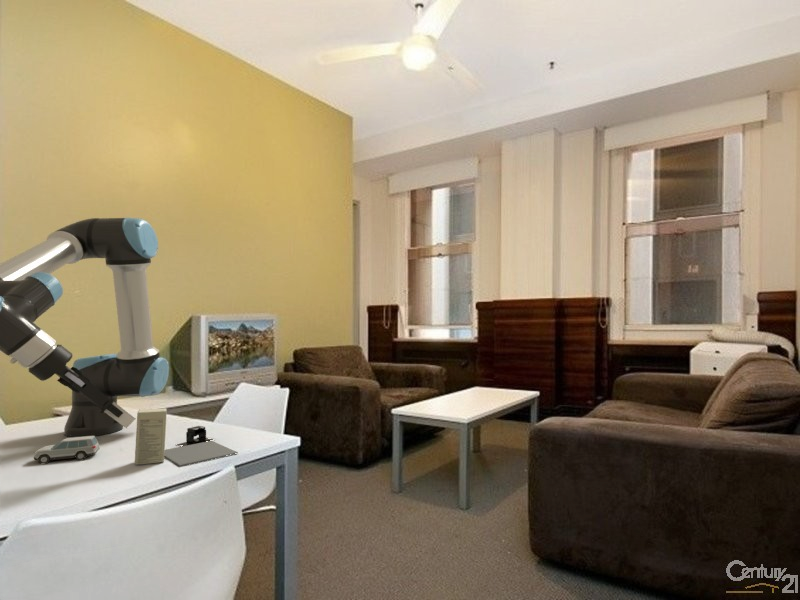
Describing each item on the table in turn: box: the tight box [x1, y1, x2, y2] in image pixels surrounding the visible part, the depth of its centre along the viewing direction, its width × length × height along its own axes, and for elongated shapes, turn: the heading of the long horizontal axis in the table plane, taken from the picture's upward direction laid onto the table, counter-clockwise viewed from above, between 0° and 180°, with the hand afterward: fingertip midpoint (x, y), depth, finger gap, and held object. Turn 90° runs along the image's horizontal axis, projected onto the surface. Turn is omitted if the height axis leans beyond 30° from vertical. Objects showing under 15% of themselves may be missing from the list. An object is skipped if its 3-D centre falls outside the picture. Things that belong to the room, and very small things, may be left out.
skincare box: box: [134, 407, 168, 465], centre depth 112 cm, size 6×4×12 cm
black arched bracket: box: [176, 425, 214, 446], centre depth 130 cm, size 12×7×5 cm, turn 150°
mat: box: [164, 440, 239, 468], centre depth 119 cm, size 16×14×1 cm
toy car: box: [33, 436, 101, 464], centre depth 115 cm, size 6×13×5 cm, turn 111°
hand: (130, 422), depth 109 cm, fingers closed
